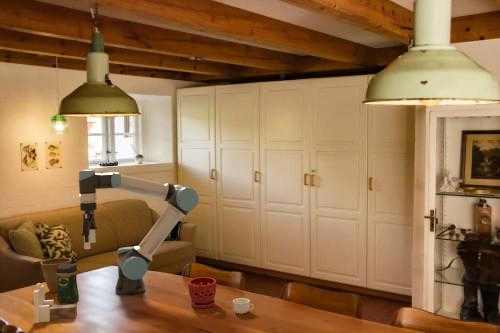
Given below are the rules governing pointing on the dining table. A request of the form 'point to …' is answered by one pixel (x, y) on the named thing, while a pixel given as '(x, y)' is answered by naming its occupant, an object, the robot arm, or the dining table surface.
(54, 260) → the plant pot
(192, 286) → the plant pot
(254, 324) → the dining table surface
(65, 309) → the rail
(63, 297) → the coffee jar
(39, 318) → the cream u-shaped bracket
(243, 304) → the teacup
